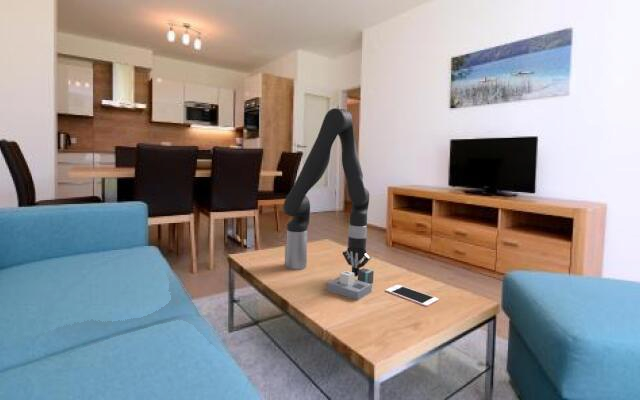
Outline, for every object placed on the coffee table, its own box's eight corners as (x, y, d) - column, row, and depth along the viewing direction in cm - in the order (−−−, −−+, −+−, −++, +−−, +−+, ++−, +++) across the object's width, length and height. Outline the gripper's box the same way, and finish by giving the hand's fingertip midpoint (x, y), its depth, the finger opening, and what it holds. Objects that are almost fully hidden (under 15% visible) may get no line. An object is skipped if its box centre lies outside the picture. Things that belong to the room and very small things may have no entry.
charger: (339, 290, 132) (339, 272, 131) (345, 287, 135) (345, 270, 134) (348, 293, 130) (348, 275, 129) (353, 290, 133) (354, 272, 132)
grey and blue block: (357, 282, 141) (357, 270, 141) (362, 279, 144) (363, 267, 144) (368, 285, 138) (368, 273, 138) (373, 282, 141) (373, 270, 141)
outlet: (326, 290, 132) (326, 282, 132) (341, 282, 140) (341, 275, 140) (357, 300, 124) (358, 291, 123) (371, 291, 132) (371, 284, 131)
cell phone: (397, 286, 139) (397, 284, 139) (439, 301, 126) (439, 298, 126) (384, 292, 133) (384, 289, 133) (426, 308, 120) (426, 305, 120)
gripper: (339, 234, 143) (337, 274, 145) (367, 240, 135) (364, 282, 137) (348, 231, 149) (346, 269, 151) (376, 236, 141) (373, 277, 143)
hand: (355, 275), depth 144 cm, fingers closed
